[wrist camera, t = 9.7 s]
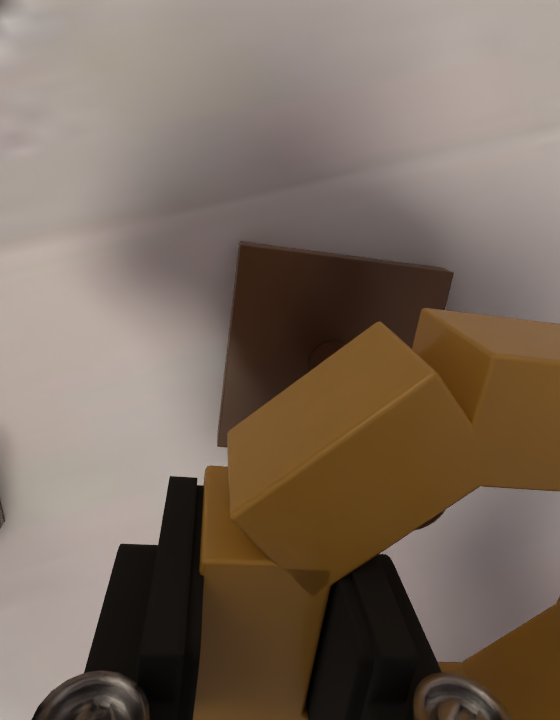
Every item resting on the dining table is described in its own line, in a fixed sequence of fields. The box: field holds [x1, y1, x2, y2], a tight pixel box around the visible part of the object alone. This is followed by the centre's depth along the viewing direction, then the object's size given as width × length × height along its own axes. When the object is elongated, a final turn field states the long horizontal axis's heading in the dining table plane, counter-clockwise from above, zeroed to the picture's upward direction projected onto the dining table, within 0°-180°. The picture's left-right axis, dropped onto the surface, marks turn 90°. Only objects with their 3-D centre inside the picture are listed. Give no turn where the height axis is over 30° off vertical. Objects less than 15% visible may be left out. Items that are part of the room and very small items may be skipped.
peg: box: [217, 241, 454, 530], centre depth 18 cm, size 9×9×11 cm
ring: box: [193, 308, 560, 720], centre depth 10 cm, size 10×10×3 cm
